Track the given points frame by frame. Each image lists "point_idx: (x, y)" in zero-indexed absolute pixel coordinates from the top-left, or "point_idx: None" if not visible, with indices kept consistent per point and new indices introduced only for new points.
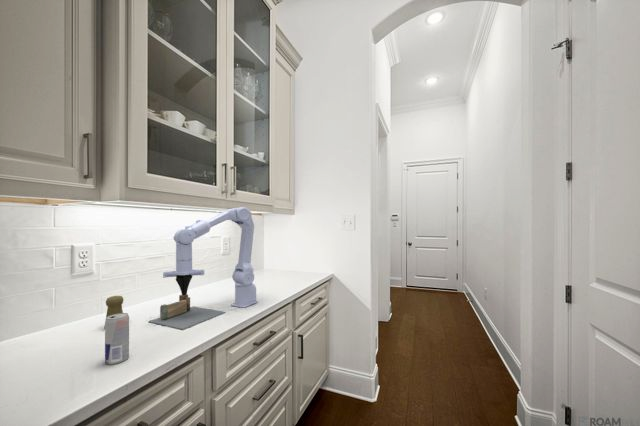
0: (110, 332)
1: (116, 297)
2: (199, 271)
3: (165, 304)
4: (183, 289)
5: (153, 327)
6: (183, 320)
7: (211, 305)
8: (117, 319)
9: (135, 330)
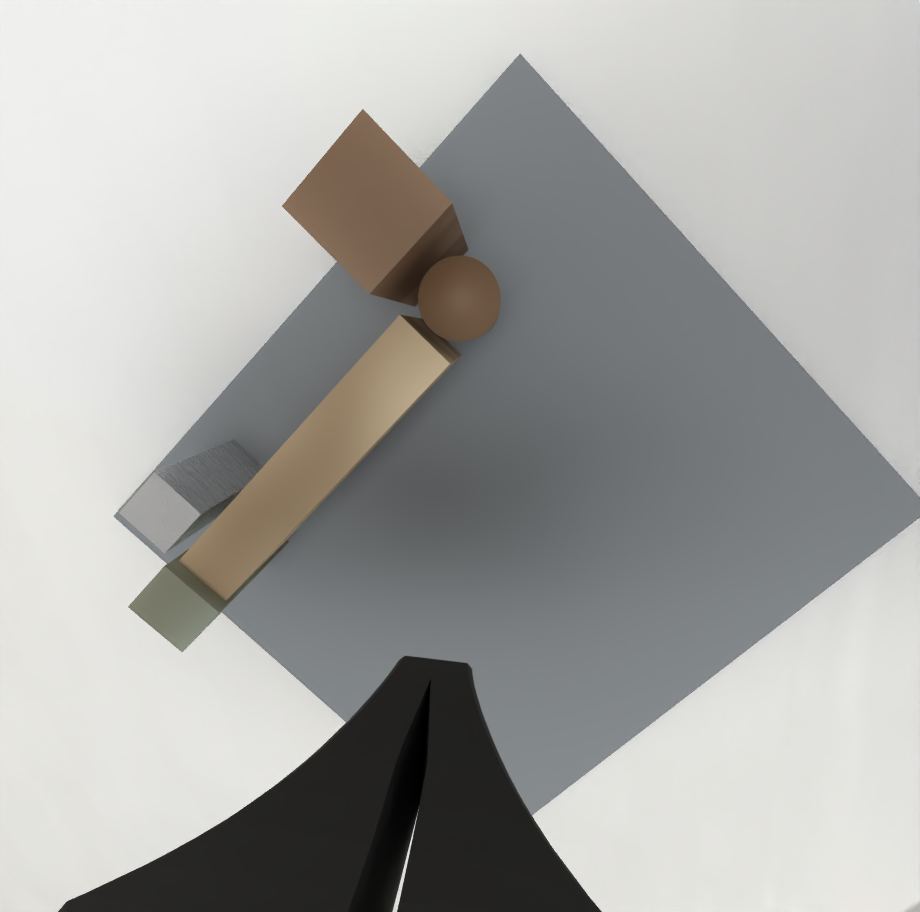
0: None
1: None
2: None
3: (181, 584)
4: (403, 845)
5: (219, 676)
6: (463, 631)
7: (783, 52)
8: None
9: (89, 691)
